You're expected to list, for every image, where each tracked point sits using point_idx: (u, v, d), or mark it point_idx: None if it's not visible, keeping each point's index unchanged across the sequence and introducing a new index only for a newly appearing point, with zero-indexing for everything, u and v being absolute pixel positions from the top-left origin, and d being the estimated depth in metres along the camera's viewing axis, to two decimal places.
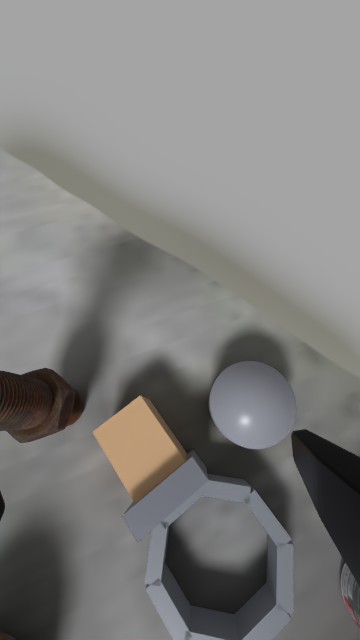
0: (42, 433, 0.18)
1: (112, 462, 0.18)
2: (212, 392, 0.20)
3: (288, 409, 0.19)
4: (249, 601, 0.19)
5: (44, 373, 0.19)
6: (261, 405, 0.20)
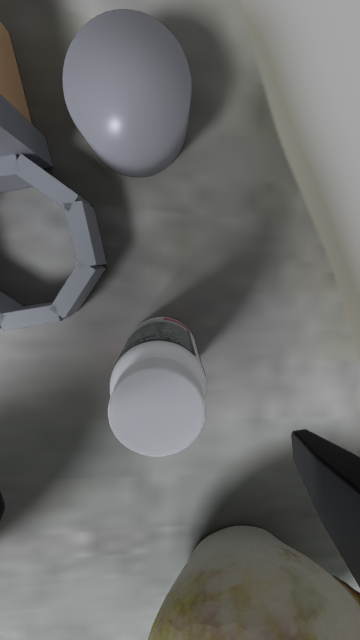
0: None
1: None
2: (77, 36, 0.13)
3: (169, 124, 0.13)
4: (42, 303, 0.18)
5: None
6: (137, 97, 0.13)
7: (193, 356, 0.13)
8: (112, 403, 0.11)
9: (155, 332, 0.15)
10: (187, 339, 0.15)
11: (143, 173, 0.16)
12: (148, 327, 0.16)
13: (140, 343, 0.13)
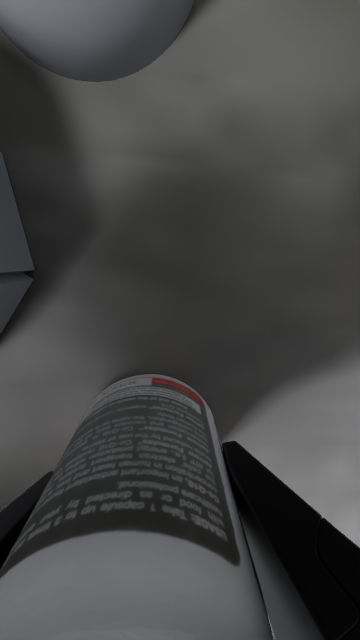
0: None
1: None
2: None
3: None
4: None
5: None
6: None
7: (236, 580, 0.04)
8: None
9: (122, 457, 0.05)
10: (206, 460, 0.06)
11: (102, 63, 0.07)
12: (113, 420, 0.07)
13: (63, 537, 0.04)
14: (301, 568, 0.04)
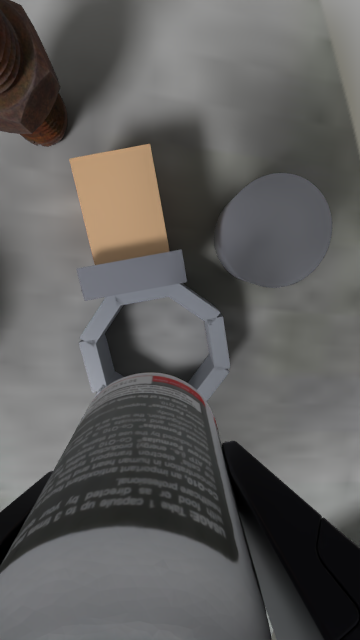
0: None
1: (83, 210, 0.14)
2: (240, 194, 0.15)
3: (310, 261, 0.16)
4: None
5: (16, 12, 0.11)
6: (285, 240, 0.15)
7: (234, 576, 0.04)
8: None
9: (122, 454, 0.06)
10: (205, 458, 0.06)
11: None
12: (113, 418, 0.07)
13: (63, 532, 0.04)
14: (301, 568, 0.04)
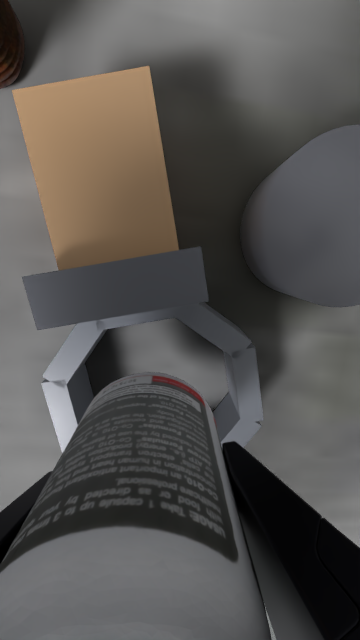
0: None
1: (38, 179, 0.09)
2: (293, 159, 0.09)
3: None
4: None
5: None
6: None
7: (234, 576, 0.04)
8: None
9: (121, 454, 0.05)
10: (205, 458, 0.06)
11: None
12: (112, 418, 0.07)
13: (62, 533, 0.04)
14: (301, 568, 0.04)
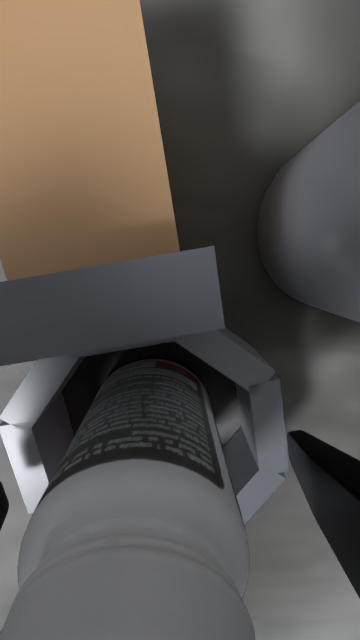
0: None
1: None
2: (342, 123, 0.06)
3: None
4: None
5: None
6: None
7: (220, 496, 0.05)
8: None
9: (134, 416, 0.07)
10: (200, 422, 0.08)
11: None
12: (124, 392, 0.08)
13: (93, 464, 0.06)
14: None
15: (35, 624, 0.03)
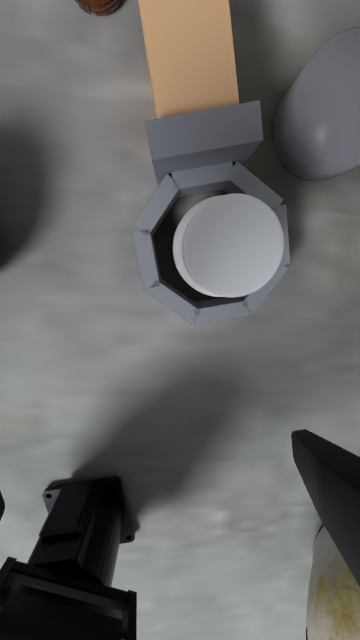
0: None
1: (150, 63, 0.13)
2: (317, 53, 0.14)
3: None
4: (213, 299, 0.20)
5: None
6: None
7: None
8: (189, 233, 0.11)
9: None
10: None
11: (327, 177, 0.17)
12: None
13: None
14: None
15: (208, 202, 0.11)
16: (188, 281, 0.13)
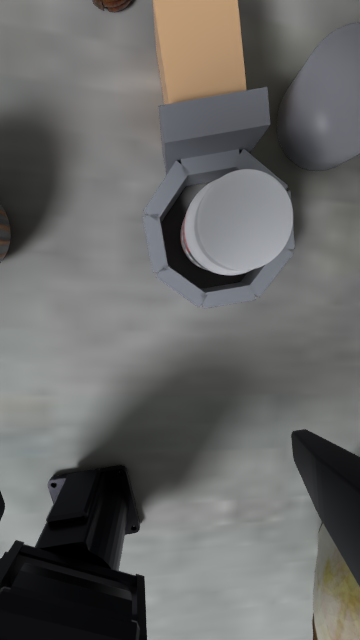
0: None
1: (163, 52, 0.14)
2: (319, 46, 0.14)
3: None
4: (219, 286, 0.20)
5: None
6: None
7: None
8: (203, 207, 0.11)
9: None
10: None
11: (329, 167, 0.18)
12: None
13: (216, 180, 0.13)
14: None
15: (221, 178, 0.11)
16: (199, 259, 0.14)
